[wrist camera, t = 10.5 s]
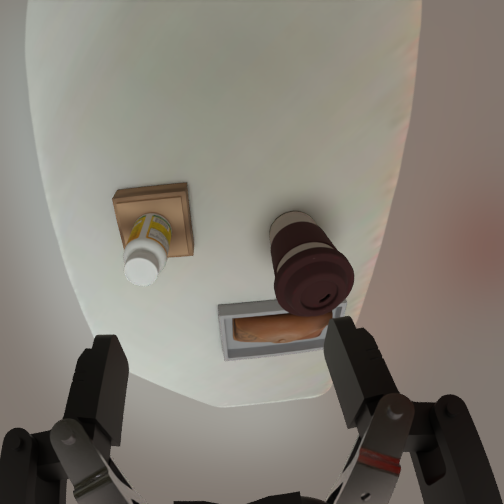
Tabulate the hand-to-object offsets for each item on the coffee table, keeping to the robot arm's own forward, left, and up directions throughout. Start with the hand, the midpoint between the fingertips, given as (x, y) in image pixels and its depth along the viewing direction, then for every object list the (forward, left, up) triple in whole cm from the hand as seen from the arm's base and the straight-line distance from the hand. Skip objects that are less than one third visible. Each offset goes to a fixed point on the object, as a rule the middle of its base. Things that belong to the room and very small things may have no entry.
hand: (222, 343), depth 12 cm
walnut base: (+12, -9, -34) cm, 37 cm away
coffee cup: (+16, +11, -34) cm, 39 cm away
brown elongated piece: (+35, +10, -34) cm, 50 cm away
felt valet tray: (+36, +10, -34) cm, 50 cm away
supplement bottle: (+12, -9, -31) cm, 34 cm away
